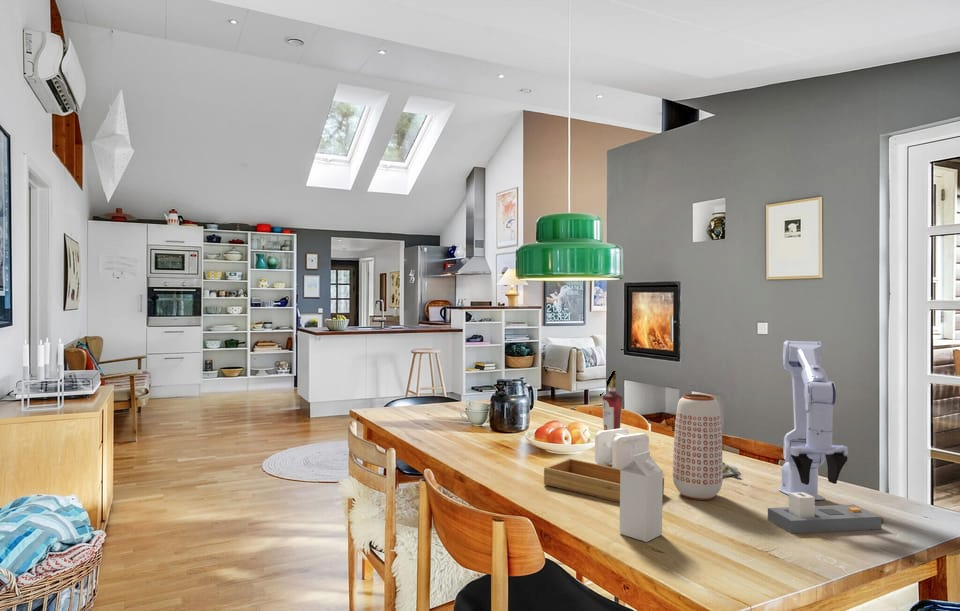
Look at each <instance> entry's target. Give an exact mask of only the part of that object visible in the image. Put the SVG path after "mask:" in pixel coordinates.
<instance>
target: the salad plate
mask: <svg viewBox="0 0 960 611" xmlns="http://www.w3.org/2000/svg"><path fill="white" fill-rule="evenodd" d="M722 463H723V478H727V476H728V477H733V476H735V475H737V476H739V475H740V472H739V467H736V466H735V465H730V464H727V463H725V462H724V461H722Z"/></svg>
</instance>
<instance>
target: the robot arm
mask: <svg viewBox="0 0 960 611" xmlns="http://www.w3.org/2000/svg"><path fill="white" fill-rule="evenodd" d="M824 353H825V352H824V346H823V342H821V341H820V340H819V341H818V340H817V341H808V340H807V341H802V340H799V341H798V340H787V339H786V340H785V341H784V342H783V345H782V364H783V368H784V371H786V372H789V373H790V376H791V377H790V378H791V381H792V383H791V384H792V386H791V387H792V404H793V427H794V429H792V430H790V431H788V432H786V434H784V437H783V458H784V461H785V462H784V464H782V468H781V484H780V485H781V486H780V487H781V488H778V491H779V492H781V493H784V494H785V495H787V496H789V493H796V492H804V493H806V494H809V495H811V496H813V497H815V501H817V500H818V501H819V500H820V501H821V500H822V501H823V500H826V497H824V496H822V495H820V494H818V493H819V492H818V491H819V488H818V487H819V468H821V466H823V464H824V463H825V461H826V466H827V480H828V481H827V482H829V483H832V484H834V485H836V484H837V482H838V479H839V476H840V474H841V471H842V469H843V467H844V466H845V464H846V463H847V461H848V455H849V447H848V446H846V445H843V444H842V445H841V444H839V445H838V444H833V422H834V421H833V420H834V418H833V417H834V416H833V415H834V414H833V413H834V406H835V405H836V401H837V388H836V383H835V382H834V381H831V380H829V378H828V375H827V373H826V370H825V369H824V367H822V366H821V364H822V363H823V360H824Z"/></svg>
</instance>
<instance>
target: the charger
mask: <svg viewBox="0 0 960 611" xmlns="http://www.w3.org/2000/svg"><path fill="white" fill-rule="evenodd" d="M815 506H816V500H815V497H813V496H811V495H809V494H806V493H804V492H796V493H789V495H788V507H789V513H790V514H792V515H794V516H796V517H798V518H811V517H815Z"/></svg>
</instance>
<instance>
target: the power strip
mask: <svg viewBox="0 0 960 611" xmlns="http://www.w3.org/2000/svg"><path fill="white" fill-rule="evenodd" d="M767 521H769V522H770V521H771V522H770V523H772V522H773V523H772V524H773V525H775V526H777V525H778V526H777V527H778V528H780V529H782V530H785V531H787V532H788V533H789V532H790V533H789V534H807V533H808V534H809V533H810V534H811V533H827V532H850V531H867V530H868V531H869V530H870V529H873V530H882V523H883V522H884V518H883V517H882V516H881V515H878V514H877V513H874V512H872V511H869V510H867V509H865V508H862V507H860V506H858V505H856V504H839V505H838V504H835V505H834V504H832V505H815V517H811V518H798V517H796V516H794V515H792V514H790V513H789V506H787V507H786V506H784V507H767ZM870 531H871V530H870Z"/></svg>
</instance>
